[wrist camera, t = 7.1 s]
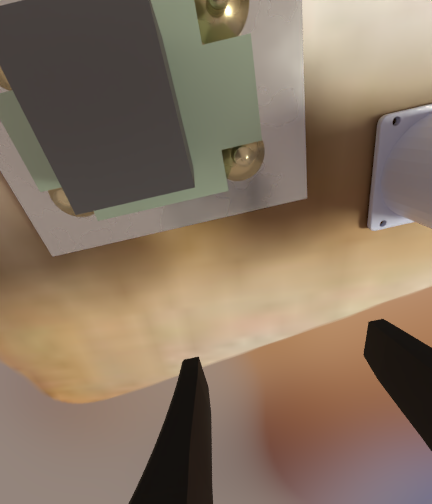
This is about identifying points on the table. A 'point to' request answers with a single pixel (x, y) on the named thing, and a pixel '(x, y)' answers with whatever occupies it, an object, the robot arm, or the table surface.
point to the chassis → (235, 159)
